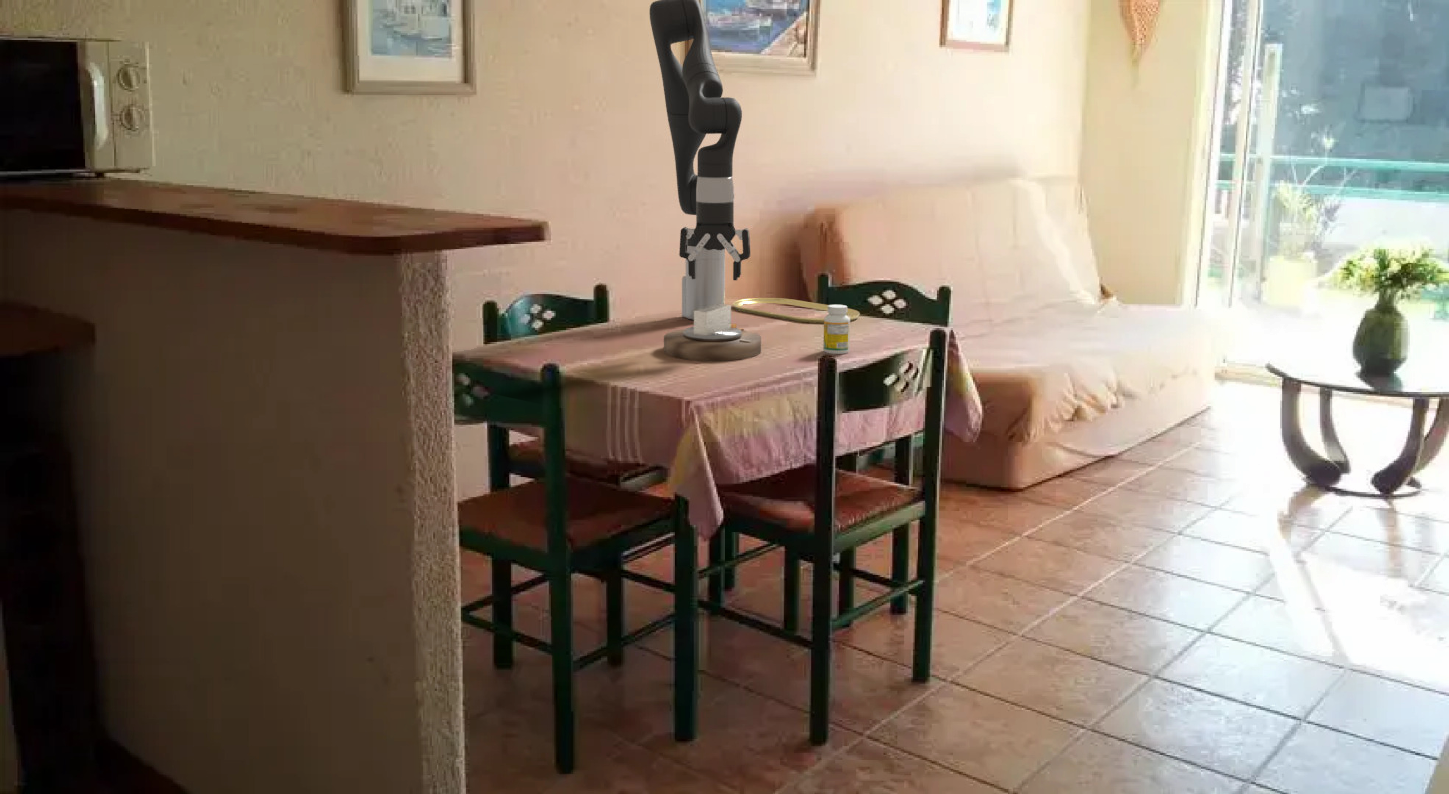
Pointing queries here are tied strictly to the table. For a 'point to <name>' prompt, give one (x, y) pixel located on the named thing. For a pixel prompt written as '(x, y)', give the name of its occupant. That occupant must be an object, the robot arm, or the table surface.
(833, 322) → the supplement bottle
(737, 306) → the gold oval frame
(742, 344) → the base
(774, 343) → the table surface
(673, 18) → the robot arm
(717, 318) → the butter block on plate
